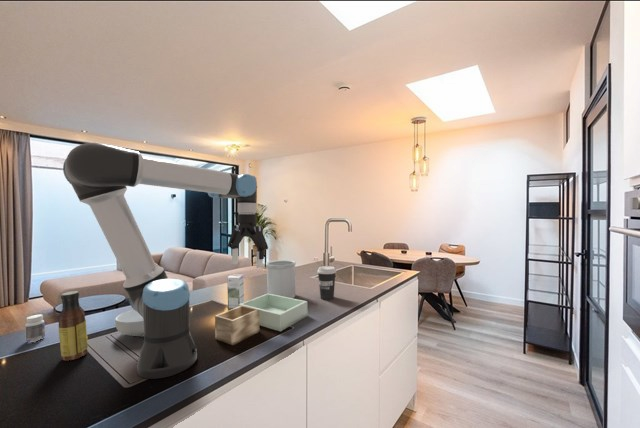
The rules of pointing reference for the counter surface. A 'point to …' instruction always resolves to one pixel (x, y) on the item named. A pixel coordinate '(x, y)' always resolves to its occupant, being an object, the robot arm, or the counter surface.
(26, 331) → the pill bottle
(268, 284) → the utensil holder
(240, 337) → the small wooden crate
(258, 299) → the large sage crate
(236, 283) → the syrup box
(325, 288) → the coffee cup
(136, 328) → the cereal bowl
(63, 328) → the sauce bottle
